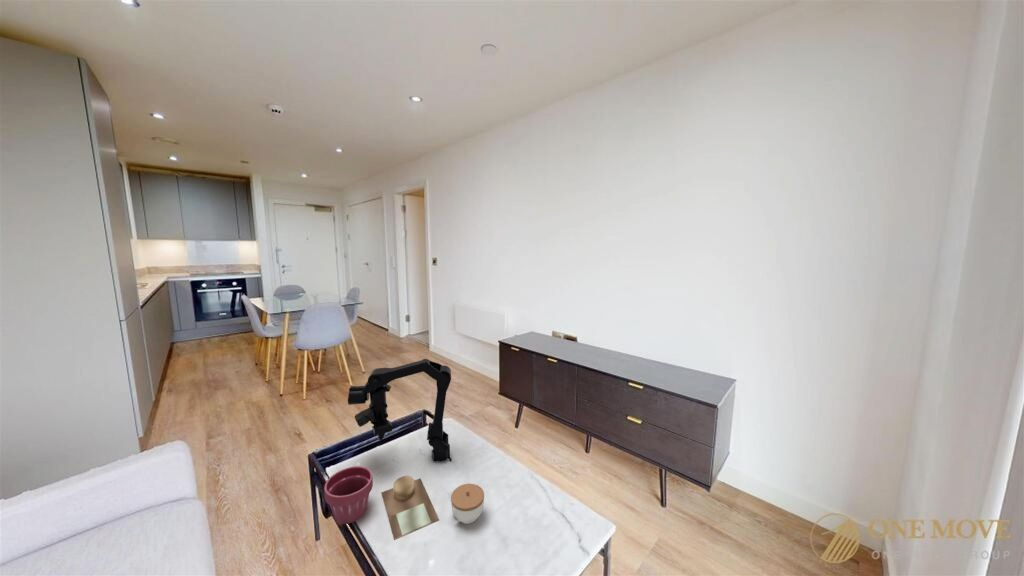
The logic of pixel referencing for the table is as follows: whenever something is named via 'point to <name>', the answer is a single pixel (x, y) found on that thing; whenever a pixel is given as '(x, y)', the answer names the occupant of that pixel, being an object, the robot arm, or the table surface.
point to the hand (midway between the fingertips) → (380, 438)
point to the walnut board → (409, 511)
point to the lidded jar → (467, 502)
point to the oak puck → (403, 488)
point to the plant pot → (348, 493)
